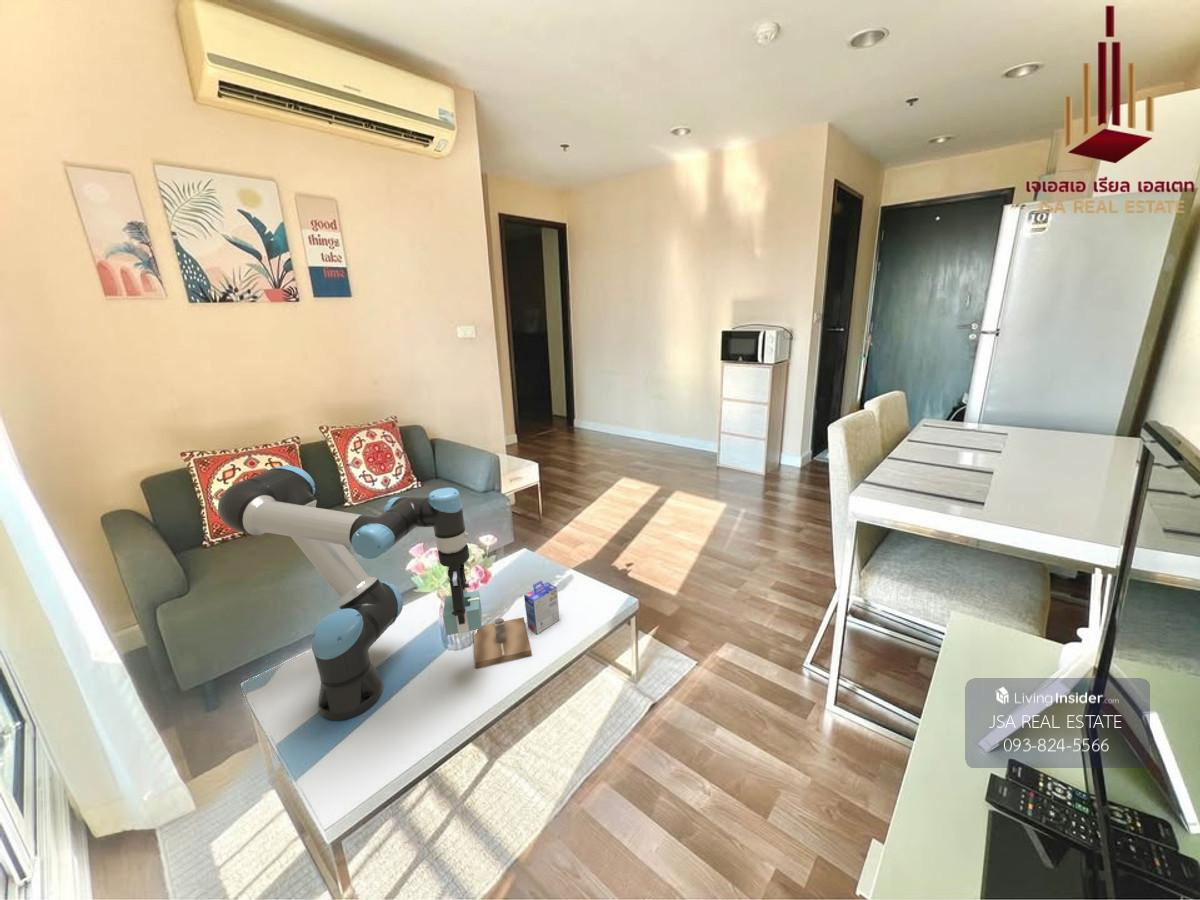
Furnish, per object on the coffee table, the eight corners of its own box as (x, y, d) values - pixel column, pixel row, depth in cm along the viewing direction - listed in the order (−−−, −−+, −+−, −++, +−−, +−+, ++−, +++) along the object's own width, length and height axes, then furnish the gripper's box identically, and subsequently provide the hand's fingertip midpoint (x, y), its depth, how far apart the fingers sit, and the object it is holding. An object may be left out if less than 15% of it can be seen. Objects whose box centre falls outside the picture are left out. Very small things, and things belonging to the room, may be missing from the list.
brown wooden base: (475, 668, 132) (472, 645, 129) (473, 632, 146) (470, 611, 144) (531, 655, 136) (529, 632, 134) (524, 622, 151) (522, 601, 149)
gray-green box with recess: (482, 628, 123) (479, 607, 121) (446, 635, 121) (442, 614, 119) (482, 608, 131) (479, 589, 130) (448, 615, 129) (445, 595, 128)
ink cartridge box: (549, 612, 155) (546, 574, 151) (560, 619, 152) (558, 581, 148) (526, 627, 149) (522, 588, 144) (537, 634, 145) (533, 595, 141)
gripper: (466, 565, 110) (478, 644, 117) (468, 526, 131) (478, 595, 137) (433, 570, 109) (447, 650, 115) (440, 531, 129) (452, 600, 136)
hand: (464, 620), depth 126 cm, fingers closed on gray-green box with recess, 9 cm apart
